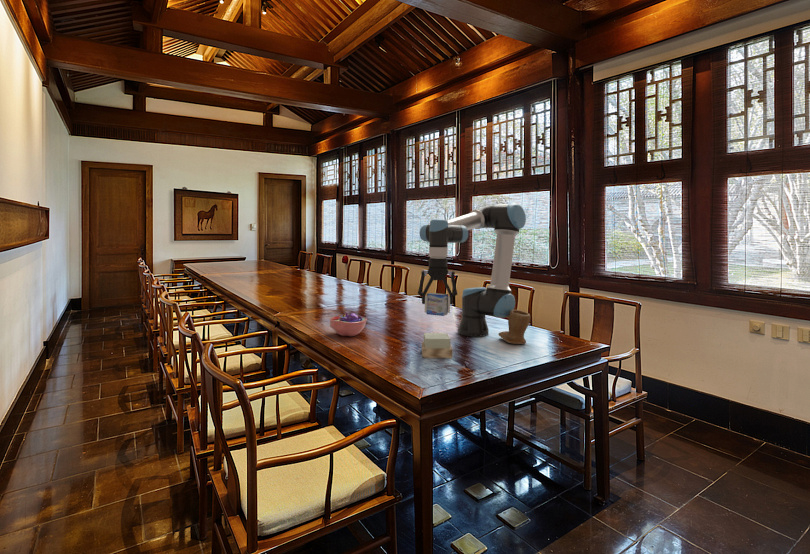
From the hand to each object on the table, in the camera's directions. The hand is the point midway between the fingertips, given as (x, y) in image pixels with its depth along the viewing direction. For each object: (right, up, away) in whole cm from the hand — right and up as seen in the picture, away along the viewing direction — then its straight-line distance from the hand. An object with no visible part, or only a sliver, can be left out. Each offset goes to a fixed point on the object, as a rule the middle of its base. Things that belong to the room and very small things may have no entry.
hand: (437, 312), depth 186 cm
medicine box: (0, -1, 0) cm, 1 cm away
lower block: (0, -18, +2) cm, 18 cm away
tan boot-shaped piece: (+38, -16, +24) cm, 48 cm away
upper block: (0, -14, +2) cm, 14 cm away
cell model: (-41, -14, +34) cm, 55 cm away
